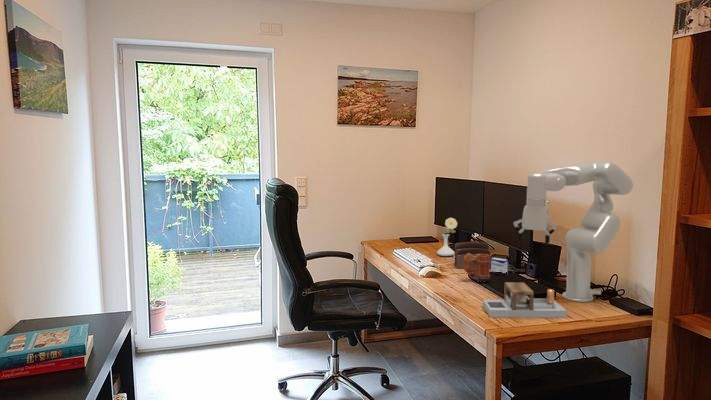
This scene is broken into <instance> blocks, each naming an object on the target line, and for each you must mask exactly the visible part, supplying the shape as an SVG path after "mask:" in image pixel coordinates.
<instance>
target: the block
mask: <svg viewBox="0 0 711 400" xmlns="http://www.w3.org/2000/svg"><path fill="white" fill-rule="evenodd" d="M527 296H528V295H516V304H526V298H527ZM511 299H512V293H511Z"/></svg>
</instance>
